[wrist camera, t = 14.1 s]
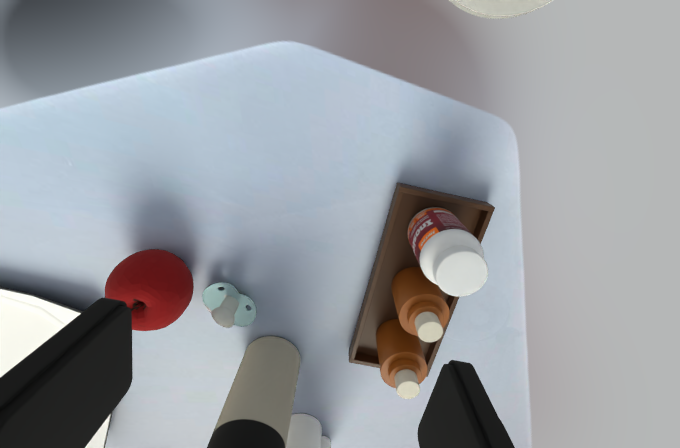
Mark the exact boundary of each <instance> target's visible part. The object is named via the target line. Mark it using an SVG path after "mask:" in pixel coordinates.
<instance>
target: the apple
mask: <svg viewBox="0 0 680 448" xmlns="http://www.w3.org/2000/svg"><path fill="white" fill-rule="evenodd" d="M193 288H194V287H193V278H192V275H191V272H190V270H189V269H188V267H187V266H186V264H185V263H184V262H183V261H182V260H181V259H180V258H179V257H177V256H176V255H174V254H173V253H170V252H168V251H166V250H159V249H150V250H144V251H140V252H137V253H135V254H133V255H131V256H129V257H127V258H126V259H124V260H123V261H122V262H120V263H119V264H118V265H117V266H116V267H115V268H114V270H113V271H112V272H111V274H110V275H109V277H108V279H107V282H106V286H105V298H109V299H115V300H120V301H124V302H126V304H127V307H129V308H131V311H132V330H139V331H149V330H158V329H161V328H164V327H166V326H168V325H170V324H171V323H173V322H174V321H176V320H177V319H178V318H179V317H180V316H181V315H182V314H183V312H184V311H185V309H186V308H187V307H188V305H189V303H190V301H191V298H192V294H193Z"/></svg>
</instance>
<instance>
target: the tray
mask: <svg viewBox="0 0 680 448" xmlns="http://www.w3.org/2000/svg"><path fill="white" fill-rule="evenodd" d="M431 207H440V208H444V209H446V210H448V211H450V212H451V213H452V214H454V215H455V216H456V217H457V219H458V220H459V221H460V222H461V223H462V224H463V225H464V226H465V227H466V228H467V229H468V230H469V231H470V232H471V233H472V234H473V235H474V236H475V238H476V239H477V240H478V241H479V243H480V244H481V241H482V239H483V236H484V234H485V231H486V229H487V226H488V224H489V221H490V219H491V216H492V214H493V211H494V209H495V207H493V206H492V205H490V204H489V203H487V202H483V201H479V200H474V199H470V198H465V197H461V196H456V195H452V194H447V193H443V192H438V191H434V190H429V189H425V188H420V187H416V186H411V185H407V184H402V183H397V185H396V188H395V192H394V195H393V199H392V202H391V206H390V209H389V213H388V216H387V220H386V223H385V227H384V230H383V234H382V237H381V241H380V244H379V248H378V251H377V255H376V258H375V262H374V265H373V269H372V272H371V276H370V279H369V283H368V286H367V290H366V293H365V297H364V300H363V304H362V307H361V311H360V314H359V318H358V321H357V325H356V328H355V332H354V335H353V339H352V342H351V346H350V349H349V362H350V363H356V364H361V365H367V366H372V367H377V368H380V365H379V358H378V351H377V343H376V332H377V330H378V328H379V327H380V325H381V324H383V323H384V322H386V321H388V320H391V319H399V317H398V313H397V310H396V306H395V302H394V298H393V294H392V290H391V284H392V281H393V279H394V277H395V276H396V275H397V274H398V273H399V272H400V271H402V270H403V269H406V268H409V267H420V265H419V262H418V260H417V258H416V256H415V253H414V251H413V249H412V247H411V245H410V242H409V239H408V227H409V224H410V222H411V220H412V218H413V217H414V216H415V215H416V214H417V213H419V212H420V211H422V210H424V209H427V208H431ZM420 268H421V267H420ZM437 286H438V285H437ZM438 288H439V290H440V292H441V294H442V296H443V297H444V299H445V301H446V303H447V305H448V307H449V312H450V315H449V320H448V322H447V324H446V325H445V327H444V328H443V334H442V336H441V338H440V339H438V340H437V341H435V342H425V341H422V340H421V339H420V338H419V336H418V339H419V342H420V345H421V348H422V351H423V354H424V357H425V361H426V364H427V368H428V371H427V375H426V377H428V374H429V371H430V369H431V366H432V364H433V361H434V359H435V356H436V354H437V351H438V349H439V346H440V344H441V341H442V339H443V336H444V334H445V331H446V329H447V326H448V324H449V321H450V319H451V316H452V314H453V311H454V309H455V306H456V304H457V301H458V299H459V297H458V296H452V295H449V294H447V293H445V292H444V291H442V290H441V289H440V287H439V286H438Z"/></svg>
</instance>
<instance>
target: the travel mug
mask: <svg viewBox="0 0 680 448" xmlns="http://www.w3.org/2000/svg"><path fill="white" fill-rule="evenodd" d="M299 367H300V354H299V352H298V350H297V349H296V347H295V346H294V345H293V344H292V343H290V342H289V341H287V340H285V339H283V338H280V337H275V336H266V337H261V338H258V339H256V340H254V341H253V342H252V343H251V344H250V345H249V346H248V347H247V349H246V352H245V354H244V357H243V359H242V362H241V364H240V367H239V369H238V372H237V374H236V377H235V379H234V382H233V384H232V387H231V389H230V392H229V394H228V397H227V399H226V402H225V404H224V407H223V409H222V412H221V414H220V417H219V419H218V422H217V424H216V427H215V429H214V432H213V434H212V437H211V439H210V442H209V444H208V447H207V448H286V444H287V438H288V432H289V426H290V420H291V415H292V409H293V403H294V397H295V391H296V385H297V379H298V373H299Z"/></svg>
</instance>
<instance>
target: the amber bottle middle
mask: <svg viewBox="0 0 680 448" xmlns="http://www.w3.org/2000/svg"><path fill="white" fill-rule="evenodd" d="M391 290H392V294H393V298H394V302H395V306H396V310H397V313H398V317H399V321H400V324H401V326H402V327H403V329H404V330H405V331H407V332H408V333H410V334H412V335H415V336H419V338H420V339H421V340H422V341H425V342H435V341H437V340H438V339H440V338H441V336H442V334H443V328H444V327H445V325H446V324H447V322H448V320H449V315H450V312H449V307H448V305H447V303H446V301H445V299H444V297H443V296H442V294H441V292H440V290H439V288H438V286H437V285H436V284H434V283H433V282H431V281H430V280H429V279H428V278H427V277H426V276H425V274H424V273H423V271H422V269H421V268H420V267H409V268H406V269H403V270H402V271H400V272H399V273H398V274H397V275H396V276H395V277H394V279H393V281H392V284H391Z"/></svg>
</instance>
